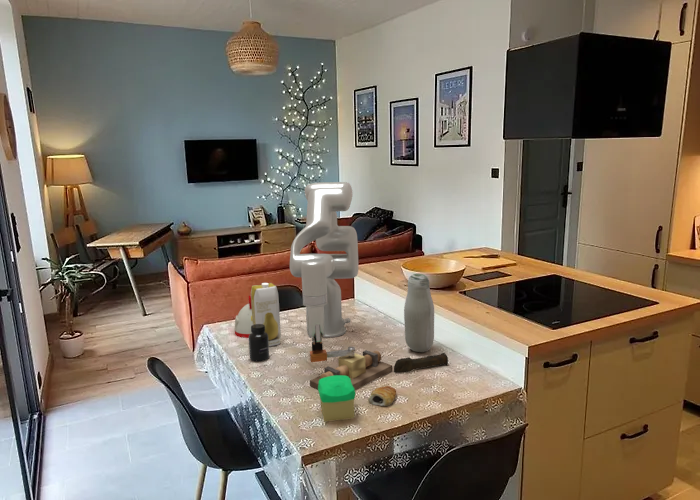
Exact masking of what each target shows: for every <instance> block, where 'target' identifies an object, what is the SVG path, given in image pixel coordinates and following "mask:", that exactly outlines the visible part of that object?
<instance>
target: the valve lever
mask: <svg viewBox="0 0 700 500" xmlns="http://www.w3.org/2000/svg"><path fill="white" fill-rule="evenodd" d="M355 351H356V347H355V346H348V347H347V349H341V350H340V349H339V350H331V351H327V350H326V349H325V348H324V349H323V350H315V351H312V350H309V361H310V363H320V362H326V361H328V359H330V358H339V357H341V356H349V357H354V353H355Z"/></svg>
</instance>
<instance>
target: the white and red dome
mask: <svg viewBox="0 0 700 500" xmlns="http://www.w3.org/2000/svg"><path fill="white" fill-rule="evenodd" d="M252 325H253V320H252V306H251V295H248V303H247V304H245V305H244V306H243V307H242V308H241V309H240V310H239V312H238V314H237V315H235V319H234V335H235V336H236V337H238V338H242V337H243V338H242V339H244V338H245V339H249V335H250V334H251V333H252V332H251V326H252Z"/></svg>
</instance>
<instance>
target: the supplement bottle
mask: <svg viewBox="0 0 700 500" xmlns="http://www.w3.org/2000/svg"><path fill="white" fill-rule="evenodd" d="M251 332H252V333H251V334H250V335H249V338H248V351H249V359H250V361H252V362H255V363H259V362H265V361H267V360H268V359H270V346H269V340H268V334H267V333H266V332H265V325H263V324H255V325H252V326H251Z"/></svg>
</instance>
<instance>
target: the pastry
mask: <svg viewBox="0 0 700 500" xmlns="http://www.w3.org/2000/svg"><path fill="white" fill-rule="evenodd" d="M396 396H397V389H396V388H394V387H391V386H390V385H385V386H381V387H376V388H375V389H374V390H372V391H371V392H370V396H369V397H368V401H369V403H370V404H371V405H373V406H380V407H388V406H390V405H392V404H393V403H394V401H395V399H396Z"/></svg>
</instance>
